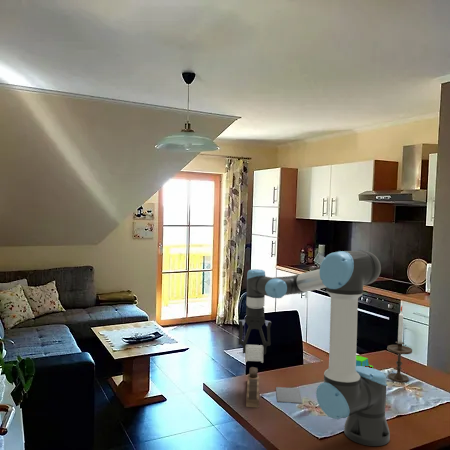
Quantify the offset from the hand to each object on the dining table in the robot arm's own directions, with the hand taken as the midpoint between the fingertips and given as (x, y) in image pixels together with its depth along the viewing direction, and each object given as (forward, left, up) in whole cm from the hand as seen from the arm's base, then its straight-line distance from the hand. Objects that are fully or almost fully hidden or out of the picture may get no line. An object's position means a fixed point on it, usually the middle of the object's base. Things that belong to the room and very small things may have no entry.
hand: (254, 361), depth 184 cm
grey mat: (0, -15, -14) cm, 20 cm away
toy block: (+26, -50, -14) cm, 58 cm away
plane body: (0, 0, -14) cm, 14 cm away
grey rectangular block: (0, 0, +2) cm, 2 cm away
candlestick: (+26, -68, -14) cm, 74 cm away
